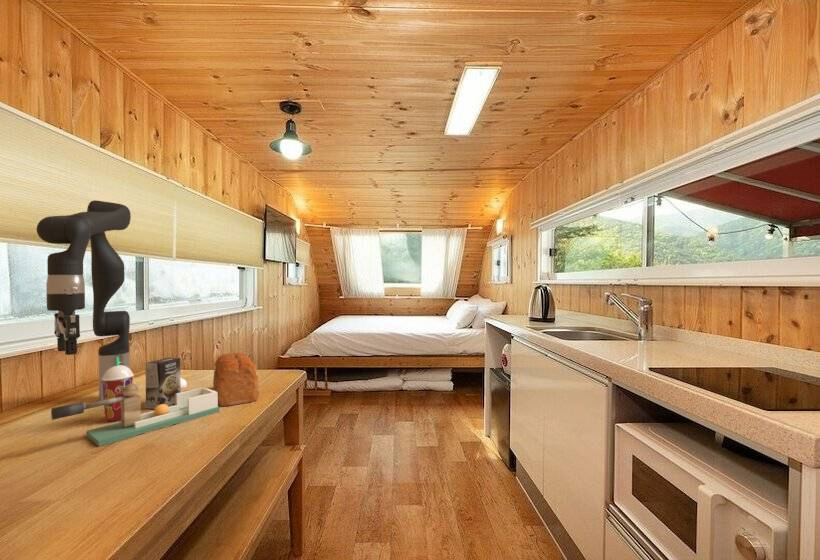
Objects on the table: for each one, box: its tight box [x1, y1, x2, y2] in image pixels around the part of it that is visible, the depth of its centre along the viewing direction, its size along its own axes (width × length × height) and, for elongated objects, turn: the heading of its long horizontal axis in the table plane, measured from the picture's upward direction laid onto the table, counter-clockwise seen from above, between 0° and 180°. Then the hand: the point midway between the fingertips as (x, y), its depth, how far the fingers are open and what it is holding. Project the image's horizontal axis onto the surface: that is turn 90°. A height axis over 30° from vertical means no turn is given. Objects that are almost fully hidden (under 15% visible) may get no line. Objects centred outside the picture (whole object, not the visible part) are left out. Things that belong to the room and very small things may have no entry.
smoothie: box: [101, 357, 135, 423], centre depth 120 cm, size 8×8×20 cm
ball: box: [153, 404, 170, 416], centre depth 117 cm, size 4×4×4 cm
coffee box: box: [145, 357, 182, 410], centre depth 133 cm, size 9×6×16 cm
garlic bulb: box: [180, 376, 188, 390], centre depth 154 cm, size 6×6×8 cm
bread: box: [212, 352, 260, 407], centre depth 144 cm, size 14×27×15 cm, turn 32°
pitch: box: [85, 387, 220, 447], centre depth 116 cm, size 12×32×6 cm, turn 143°
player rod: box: [50, 383, 142, 427], centre depth 104 cm, size 4×19×12 cm, turn 143°
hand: (67, 352), depth 99 cm, fingers open, 8 cm apart
